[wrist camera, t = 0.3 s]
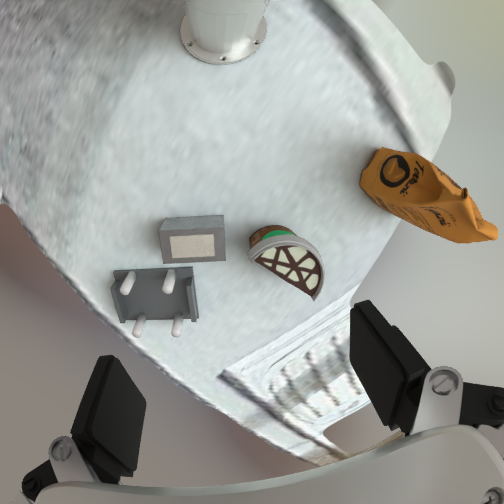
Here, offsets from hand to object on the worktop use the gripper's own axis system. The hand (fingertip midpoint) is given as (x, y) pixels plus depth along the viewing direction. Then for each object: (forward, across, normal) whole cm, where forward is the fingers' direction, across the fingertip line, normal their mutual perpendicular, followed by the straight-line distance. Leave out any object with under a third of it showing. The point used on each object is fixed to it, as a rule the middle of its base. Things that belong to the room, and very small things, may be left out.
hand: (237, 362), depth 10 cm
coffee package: (+35, -28, +3) cm, 45 cm away
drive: (+35, +5, +5) cm, 36 cm away
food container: (+35, -8, +10) cm, 37 cm away
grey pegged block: (+35, +15, +14) cm, 41 cm away
